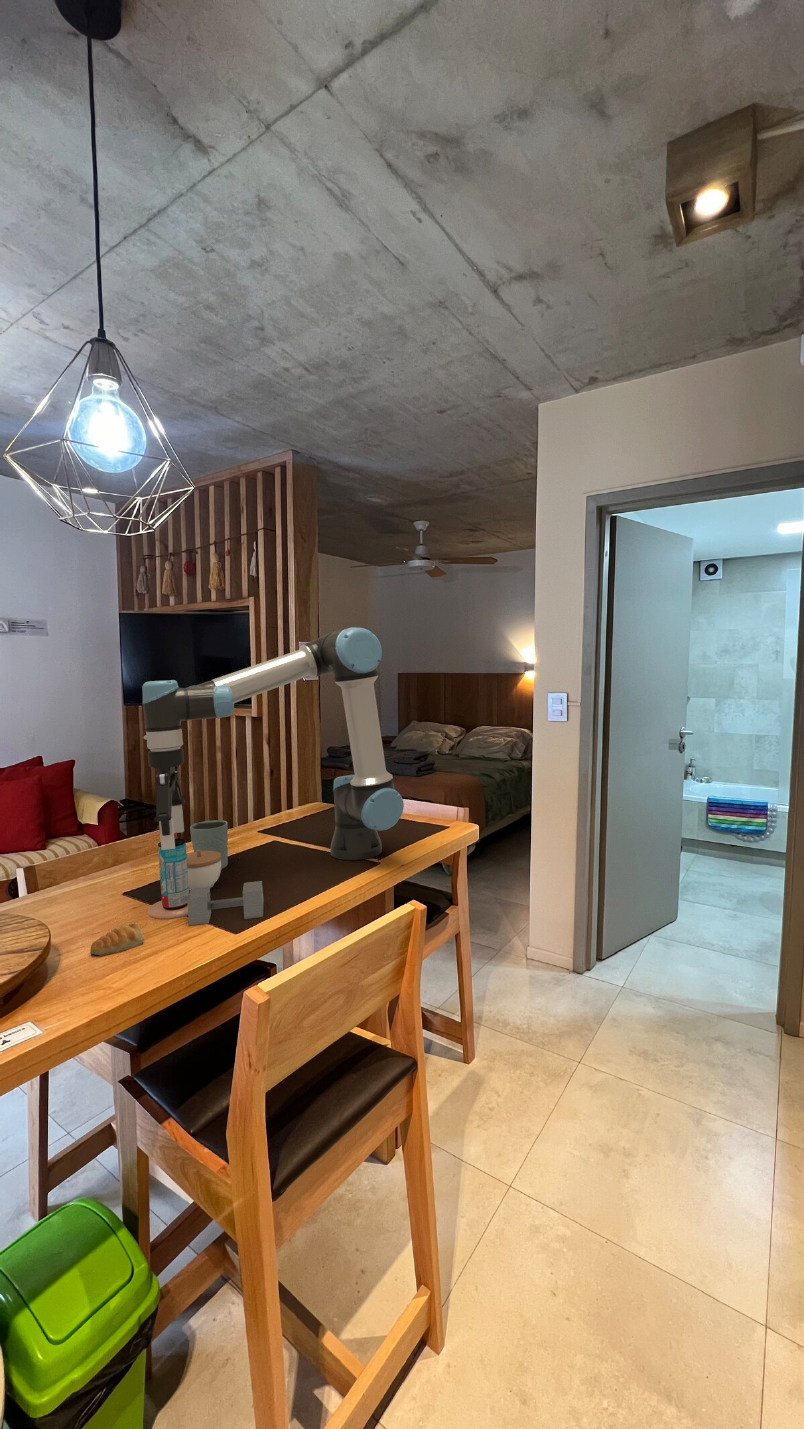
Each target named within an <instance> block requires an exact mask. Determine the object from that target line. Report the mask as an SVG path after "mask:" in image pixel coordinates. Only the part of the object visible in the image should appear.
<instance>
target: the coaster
mask: <svg viewBox="0 0 804 1429" xmlns="http://www.w3.org/2000/svg"><path fill="white" fill-rule="evenodd" d="M147 915H148V917H150V918H152V919H156V920H174V919H179V918H183V917H187V916H188V905H187V906H185V907H183V908H180V909H176V910H167V909H164V908H163V906H162V899H161V900H159V901H157V902H155V903H153V904H151V905H150V906H149V907H148V909H147Z"/></svg>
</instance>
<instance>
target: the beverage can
mask: <svg viewBox="0 0 804 1429" xmlns="http://www.w3.org/2000/svg"><path fill="white" fill-rule="evenodd" d="M174 840H175V849H168V850H161V841H159V843H157V846H158V848H157V849H158V851H157V852H158V863H159V867H158V868H159V878H160V880H159V882H160V892H161V893H160V894H161V900H162V906H163V908H164V909H167V910H176V909H180V908H183V907H185V906H187V905H188V904H187V898H188V895H189V893H190V890H189V886H188V869H187V854H188V853H187V843H186V842H187V841H186V839H184V838H174Z"/></svg>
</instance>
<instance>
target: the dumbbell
mask: <svg viewBox="0 0 804 1429" xmlns="http://www.w3.org/2000/svg"><path fill="white" fill-rule="evenodd" d="M263 892H264V890H263V881H262V880H258V881H250V882H248V881H247V882H243V887H242V897H233V898H223V899H215V900H211V888H210V887H202V888H193V889H191V890H189V895H188V898H187V904H188V915H187V916H188V926H199V925H207V924H209V922H210V919H211V916H212V915H211V914H212V910H221V909H229V908H236V907H243V918H244V920H247V919H257V918H264V893H263Z"/></svg>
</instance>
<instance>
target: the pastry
mask: <svg viewBox="0 0 804 1429" xmlns="http://www.w3.org/2000/svg"><path fill="white" fill-rule="evenodd" d="M144 941H145V937H144V934H143V931H142V930H141V926H140V925H139V923H137V922H130V923H129V924H128V925H123V926H122V925H121V926H119V927H115V928H113V929H111V930H110V931H109V932H107V933H106V934H105V935H101V936H100V937H99V938H98V939H96V940H95V941H93V942H92V943H91V945H90V953H91V954H92V955H96V956H106V955H110V954H115V953H116V954H117V953H121V952H123V951H126V950H129V949H133V948H135V947H138V946H140V945H143V943H144Z"/></svg>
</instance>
